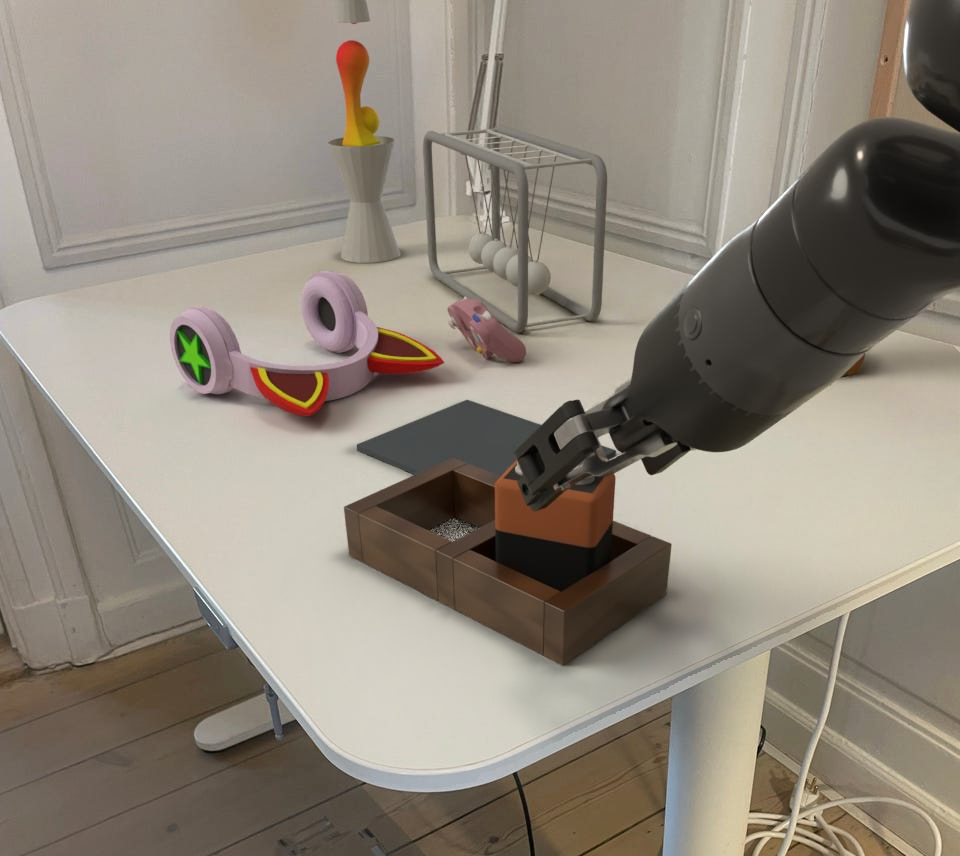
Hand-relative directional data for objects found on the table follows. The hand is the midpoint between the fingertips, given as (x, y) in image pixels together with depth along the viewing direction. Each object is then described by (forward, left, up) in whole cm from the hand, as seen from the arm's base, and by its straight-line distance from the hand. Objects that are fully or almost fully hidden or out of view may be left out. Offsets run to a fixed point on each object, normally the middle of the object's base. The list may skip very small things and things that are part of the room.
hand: (590, 477), depth 59 cm
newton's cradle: (+53, -51, -11) cm, 74 cm away
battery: (+4, -1, -11) cm, 11 cm away
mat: (+23, -15, -10) cm, 30 cm away
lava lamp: (+83, -54, -11) cm, 100 cm away
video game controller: (+41, -34, -11) cm, 54 cm away
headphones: (+48, -16, -11) cm, 52 cm away
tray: (+8, -1, -10) cm, 13 cm away
